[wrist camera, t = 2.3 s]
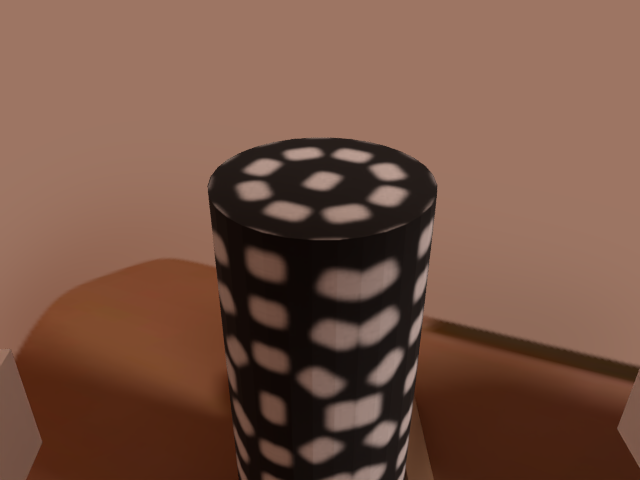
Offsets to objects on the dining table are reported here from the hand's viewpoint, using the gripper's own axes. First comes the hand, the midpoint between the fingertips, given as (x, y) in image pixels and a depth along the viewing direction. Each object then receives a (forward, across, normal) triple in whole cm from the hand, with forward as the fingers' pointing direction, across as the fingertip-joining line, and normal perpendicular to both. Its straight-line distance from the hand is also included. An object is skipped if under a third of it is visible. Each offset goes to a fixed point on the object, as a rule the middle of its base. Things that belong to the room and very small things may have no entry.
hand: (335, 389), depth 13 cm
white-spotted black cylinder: (+11, 0, -20) cm, 23 cm away
